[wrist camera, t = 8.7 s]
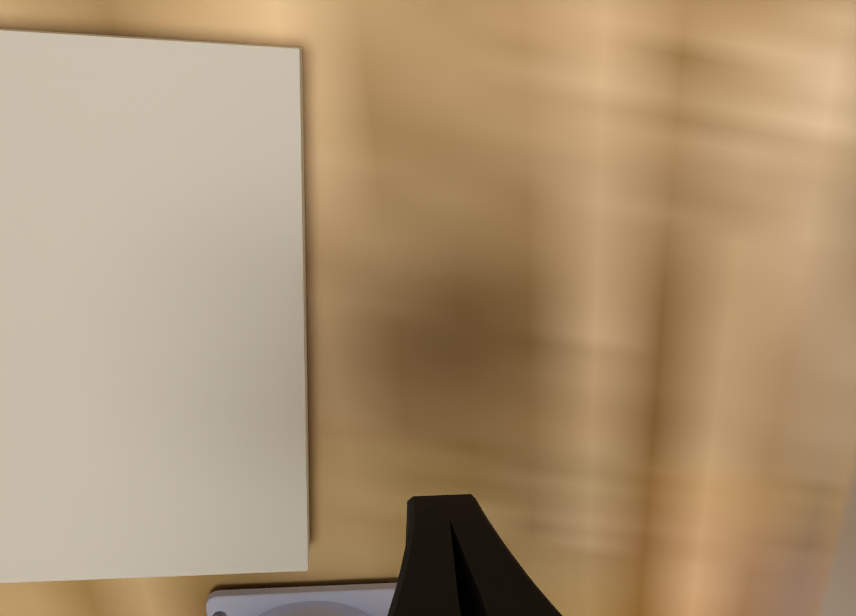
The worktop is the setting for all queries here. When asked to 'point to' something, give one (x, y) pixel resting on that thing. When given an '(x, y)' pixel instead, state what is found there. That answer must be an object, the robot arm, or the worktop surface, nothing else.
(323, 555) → the worktop surface
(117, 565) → the board
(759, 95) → the worktop surface
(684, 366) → the worktop surface
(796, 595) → the worktop surface
